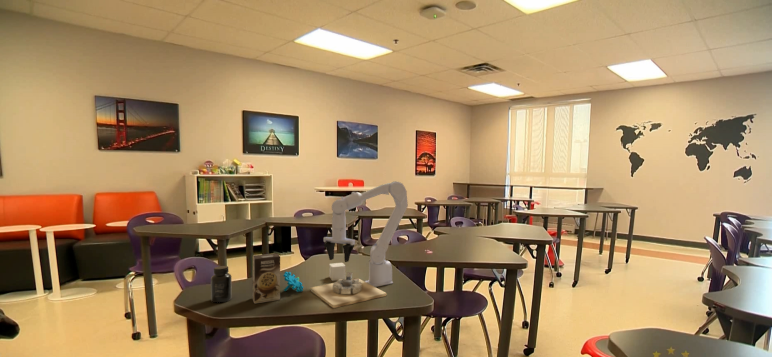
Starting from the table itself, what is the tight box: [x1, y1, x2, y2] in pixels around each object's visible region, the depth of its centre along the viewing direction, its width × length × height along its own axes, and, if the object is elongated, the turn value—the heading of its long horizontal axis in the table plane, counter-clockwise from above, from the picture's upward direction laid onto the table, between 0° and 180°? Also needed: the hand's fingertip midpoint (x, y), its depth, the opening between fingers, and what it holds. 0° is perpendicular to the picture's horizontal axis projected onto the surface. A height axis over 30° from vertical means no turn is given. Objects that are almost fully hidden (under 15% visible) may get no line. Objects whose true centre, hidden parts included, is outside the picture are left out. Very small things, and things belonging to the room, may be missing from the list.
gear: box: [282, 271, 305, 293], centre depth 136 cm, size 11×6×10 cm
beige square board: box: [309, 277, 388, 309], centre depth 133 cm, size 22×22×4 cm
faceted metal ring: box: [333, 271, 362, 294], centre depth 136 cm, size 16×11×4 cm
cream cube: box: [328, 262, 347, 282], centre depth 152 cm, size 6×6×6 cm
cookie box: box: [252, 252, 281, 304], centre depth 126 cm, size 9×6×16 cm
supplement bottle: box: [210, 265, 233, 304], centre depth 125 cm, size 7×7×12 cm
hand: (339, 260), depth 144 cm, fingers open, 7 cm apart
